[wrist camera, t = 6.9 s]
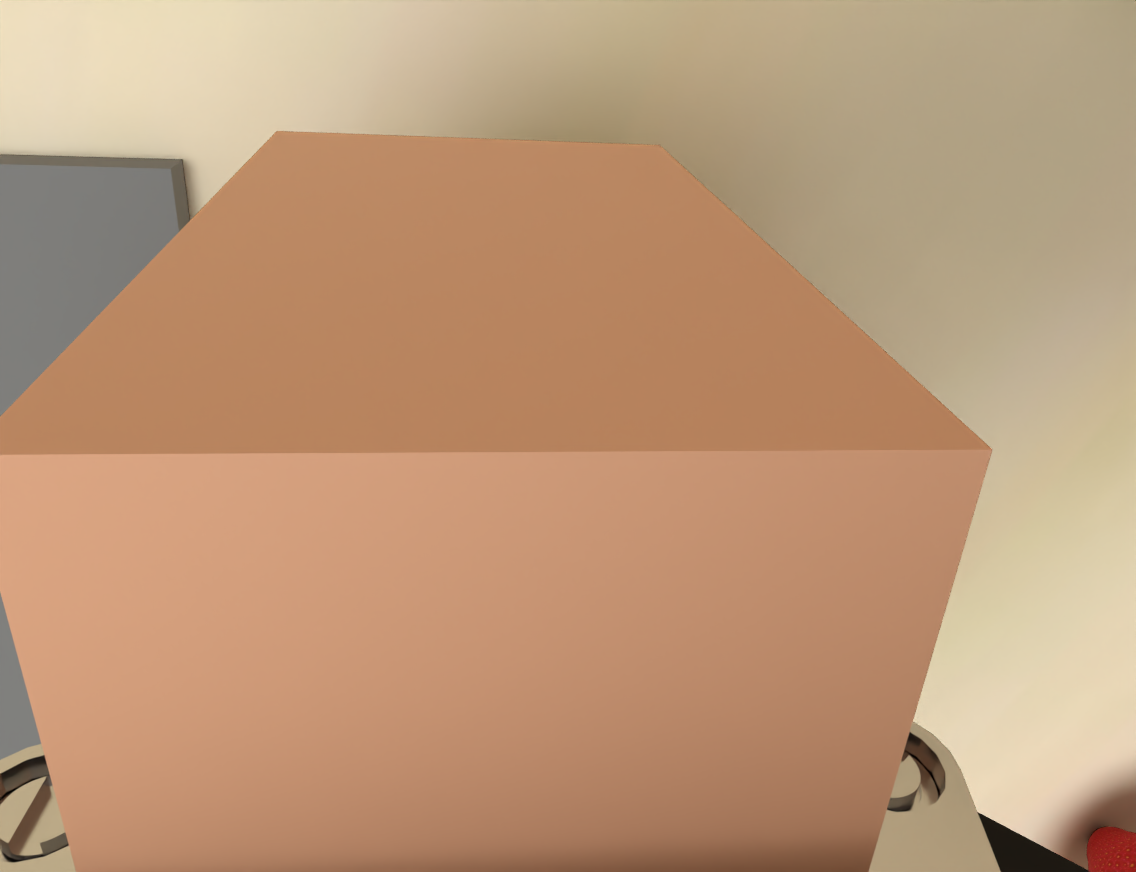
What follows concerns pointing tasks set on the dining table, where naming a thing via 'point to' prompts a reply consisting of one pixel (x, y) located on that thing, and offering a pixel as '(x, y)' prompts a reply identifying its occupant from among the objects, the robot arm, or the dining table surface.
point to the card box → (476, 530)
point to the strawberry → (1112, 850)
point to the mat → (68, 294)
